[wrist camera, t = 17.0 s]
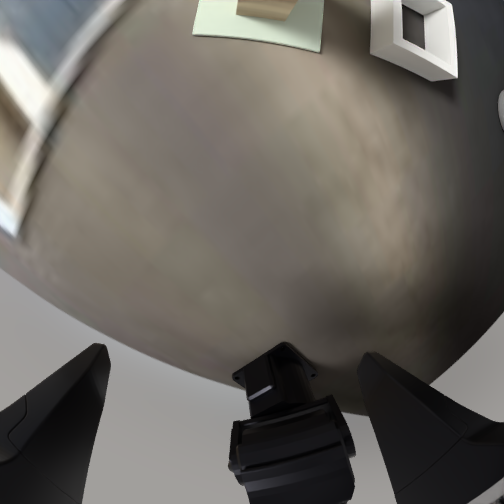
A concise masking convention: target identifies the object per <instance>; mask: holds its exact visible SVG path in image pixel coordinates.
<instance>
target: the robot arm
mask: <svg viewBox="0 0 504 504" xmlns="http://www.w3.org/2000/svg"><path fill="white" fill-rule="evenodd" d="M282 347H284V348H282ZM110 368H111V363H110V358H109V354H108V350H107V347H106V345H104V344H99V343H94V344H92V345H91V346H89V347H88V348H87V349H85V350H84V351H82V352H81V353H80V354H79V355H77V356H76V357H74V358H73V359H72V360H70V361H69V362H68V363H66V364H65V365H63V366H62V367H61V368H59V369H58V370H57V371H55V372H54V373H53V374H51V375H50V376H49V377H47V378H46V379H45V380H43V381H42V382H41V383H39V384H38V385H37V386H36V387H34V388H33V389H32V390H30V391H29V392H27V393H26V395H24V396H22V397H21V398H20V399H18V400H17V401H15V402H14V403H13V404H11V405H10V406H9V407H7V408H6V409H4V410H2V411H1V412H0V504H82V499H83V494H84V488H85V482H86V477H87V472H88V467H89V463H90V458H91V454H92V450H93V445H94V441H95V437H96V433H97V429H98V426H99V422H100V418H101V415H102V411H103V407H104V402H105V396H106V390H107V385H108V379H109V374H110ZM357 374H358V378H359V382H360V386H361V390H362V394H363V398H364V403H365V406H366V409H367V412H368V415H369V418H370V421H371V424H372V426H373V429H374V432H375V435H376V438H377V441H378V444H379V447H380V450H381V453H382V456H383V459H384V462H385V465H386V468H387V472H388V475H389V478H390V481H391V484H392V488H393V491H394V494H395V498H396V502H397V504H504V422H495V421H492V420H490V419H488V418H486V417H484V416H482V415H480V414H478V413H476V412H474V411H472V410H470V409H467V408H466V407H464V406H462V405H460V404H458V403H457V402H455V401H453V400H452V399H450V398H448V397H447V396H444V394H442V393H440V392H439V391H437V390H436V389H434V388H432V387H431V386H429V385H428V384H426V383H424V382H423V381H421V380H420V379H418V378H417V377H415V376H413V375H412V374H410V373H409V372H407V371H405V370H404V369H402V368H401V367H399V366H398V365H396V364H394V363H393V362H391V361H390V360H388V359H387V358H385V357H384V356H382V355H380V354H379V353H377V352H375V351H373V352H366V353H365V354H364V355H363V358H362V360H361V362H360V364H359V366H358V370H357ZM317 375H318V373H317V371H316V370H315V369H314V368H313V367H312V366H311V365H310V364H309V363H308V362H307V361H305V360H304V359H303V358H302V357H301V356H300V355H299V354H298V353H297V352H295V351H294V350H293V349H292V348H291V347H290V346H289V345H288V344H287V343H284V342H283V343H280V344H278V345H277V346H275V347H274V348H272V349H271V350H269V351H268V352H266V353H264V354H263V355H261V356H260V357H258V358H257V359H255V360H254V361H252V362H250V363H249V364H247V365H246V366H244V367H242V368H241V369H239V370H238V371H236V372H234V373H233V374H232V379H233V380H234V381H235V382H237V383H238V384H240V385H241V386H243V387H244V388H246V396H247V400H248V401H249V409H250V416H251V419H247V420H243V421H240V420H239V421H234V422H233V429H232V431H231V442H230V453H229V463H228V468H229V470H230V471H232V472H233V473H234V474H235V477H236V479H237V480H238V482H239V484H240V485H242V486H244V485H245V488H246V491H247V494H248V498H249V502H250V504H347V501H348V500H351V498H352V495H353V492H354V488H355V485H354V482H355V478H354V475H353V471H352V468H351V464H350V461H349V458H352V457H355V456H356V451H355V446H354V442H353V439H352V436H351V433H350V430H349V427H348V425H347V423H346V421H345V419H344V417H343V415H342V413H341V411H340V409H339V407H338V405H337V403H336V401H335V399H334V397H333V395H332V394H331V395H328V396H326V398H323V399H320V400H317V401H315V398H314V395H313V393H312V390H311V387H310V384H309V381H311V380H312V379H314V378H315V377H317ZM237 376H239V377H237Z"/></svg>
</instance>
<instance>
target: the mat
mask: <svg viewBox="0 0 504 504" xmlns="http://www.w3.org/2000/svg"><path fill="white" fill-rule="evenodd" d="M237 2H238V0H200V1H199V5H198V9H197V14H196V18H195V23H194V28H193V33H192V35H196V36H217V37H229V38H239V39H248V40H256V41H263V42H269V43H275V44H280V45H286V46H291V47H296V48H300V49H305V50H309V51H313V52H317V53H319V52H320V44H321V33H322V22H323V9H324V0H298V1H297V3H296V4H295V6H294V8H293V9H292V11H291V12H290V14H289V16H288V17H287V19H286V21H279V20H274V19H267V18H261V17H253V16H245V15H236V9H237Z"/></svg>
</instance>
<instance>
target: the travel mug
mask: <svg viewBox="0 0 504 504" xmlns="http://www.w3.org/2000/svg"><path fill="white" fill-rule="evenodd" d="M498 113H499V119H500V122H501V126H502V128H503V130H504V90H503V91H502V92H501V93H500V95H499V100H498Z"/></svg>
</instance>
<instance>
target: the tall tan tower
mask: <svg viewBox="0 0 504 504" xmlns="http://www.w3.org/2000/svg"><path fill="white" fill-rule="evenodd" d="M297 1H298V0H238V2H237V9H236V15H245V16H253V17H261V18H267V19H274V20H279V21H286V19H287V17H288V16H289V14H290V12H291V11H292V9H293V8H294V6H295V4H296V3H297Z"/></svg>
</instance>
